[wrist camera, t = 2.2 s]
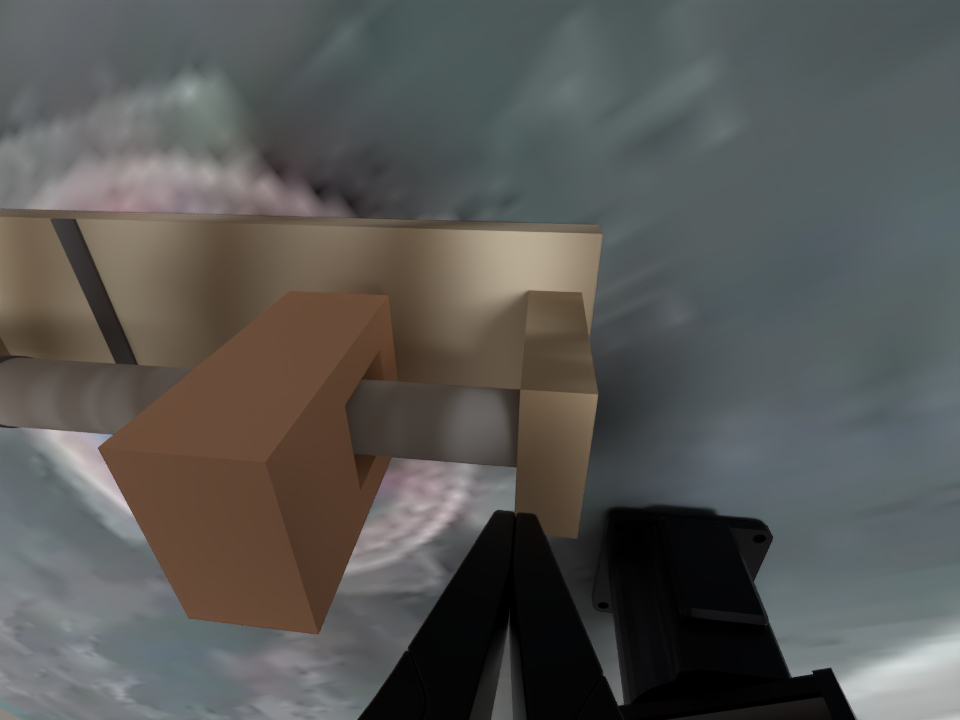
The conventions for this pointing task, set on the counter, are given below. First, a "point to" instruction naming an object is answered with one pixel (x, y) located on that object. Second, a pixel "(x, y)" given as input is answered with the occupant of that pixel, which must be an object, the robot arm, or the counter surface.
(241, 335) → the brown block with hole
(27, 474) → the counter surface
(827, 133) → the counter surface
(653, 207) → the counter surface
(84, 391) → the pipe stand
